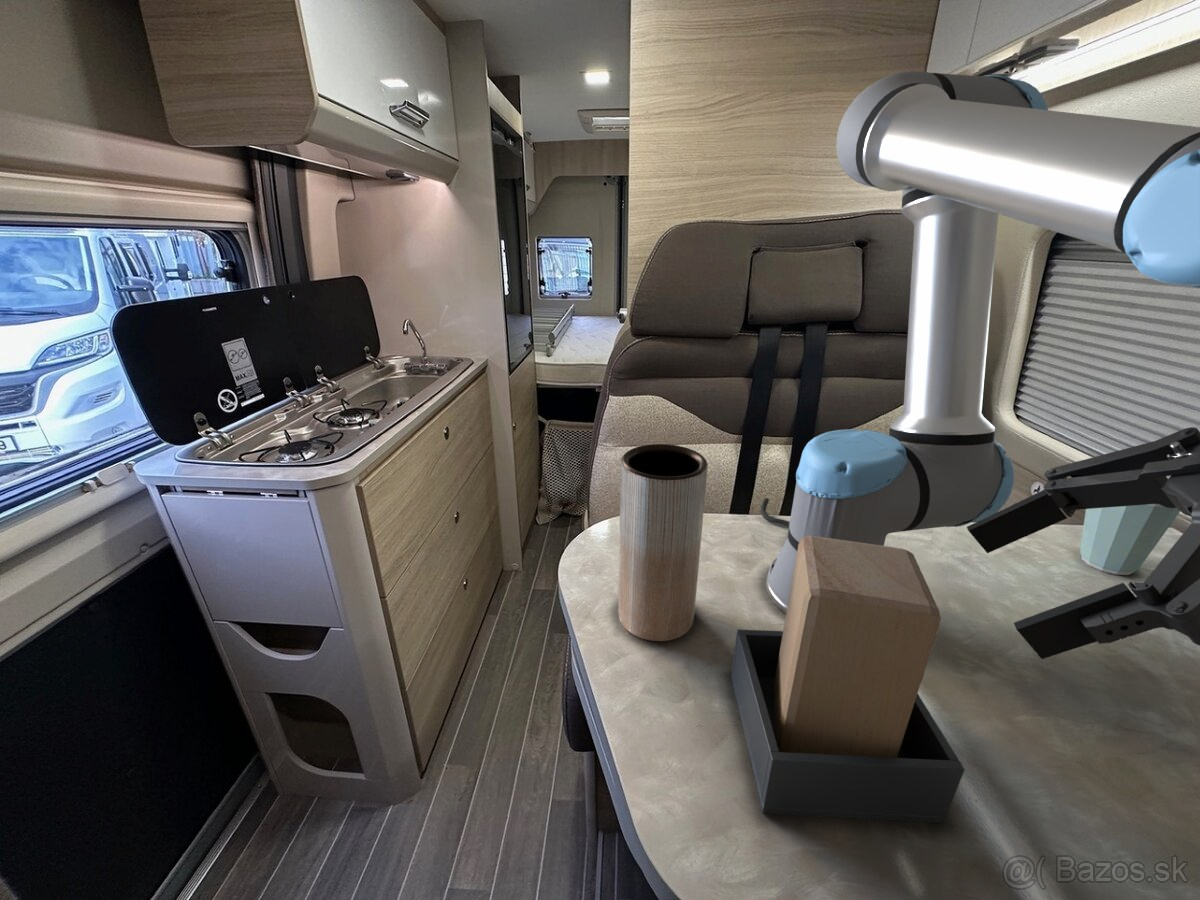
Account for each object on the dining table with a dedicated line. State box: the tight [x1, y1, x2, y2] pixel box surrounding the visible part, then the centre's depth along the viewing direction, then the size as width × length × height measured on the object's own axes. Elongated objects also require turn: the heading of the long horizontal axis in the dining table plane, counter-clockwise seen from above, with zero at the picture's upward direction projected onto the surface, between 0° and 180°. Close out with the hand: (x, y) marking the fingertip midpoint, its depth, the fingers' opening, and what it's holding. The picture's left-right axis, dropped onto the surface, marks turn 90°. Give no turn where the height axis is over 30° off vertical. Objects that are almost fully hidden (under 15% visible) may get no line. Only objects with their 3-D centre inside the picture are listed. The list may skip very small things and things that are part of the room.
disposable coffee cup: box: [1079, 476, 1181, 576], centre depth 79 cm, size 11×11×15 cm
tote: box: [730, 629, 965, 824], centre depth 52 cm, size 16×16×7 cm
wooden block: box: [774, 536, 942, 758], centre depth 49 cm, size 10×10×20 cm
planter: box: [617, 443, 708, 642], centre depth 66 cm, size 10×10×23 cm
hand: (997, 583), depth 42 cm, fingers open, 13 cm apart
